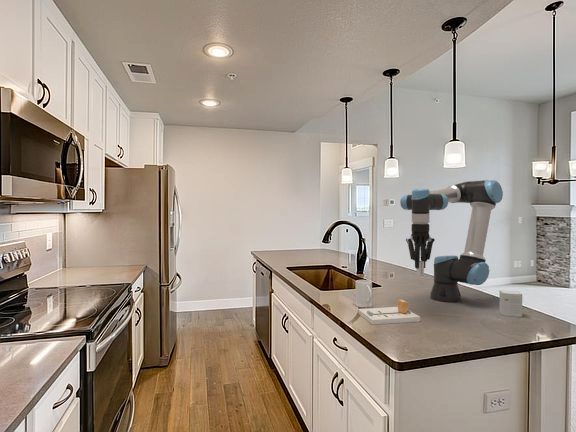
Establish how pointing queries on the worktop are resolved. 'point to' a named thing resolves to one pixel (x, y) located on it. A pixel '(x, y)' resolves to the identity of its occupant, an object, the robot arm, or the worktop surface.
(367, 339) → the worktop surface
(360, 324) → the worktop surface
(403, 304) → the fader
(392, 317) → the console
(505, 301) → the small box
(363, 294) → the mug
